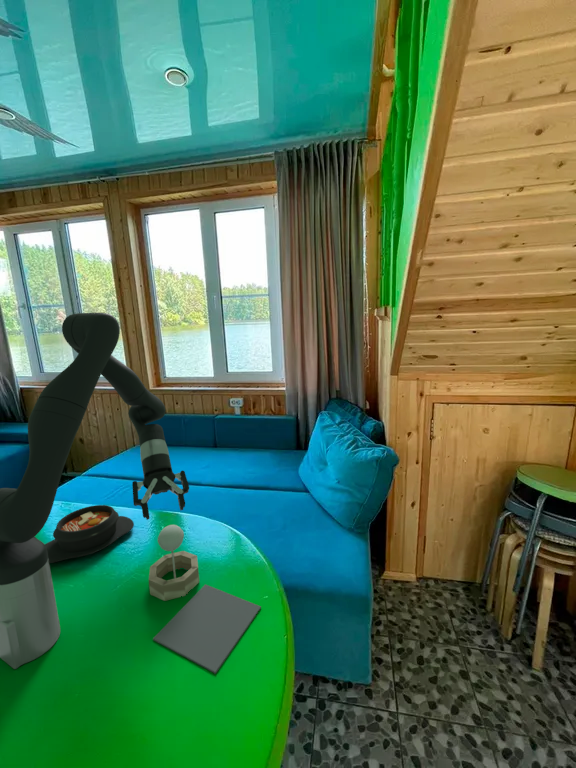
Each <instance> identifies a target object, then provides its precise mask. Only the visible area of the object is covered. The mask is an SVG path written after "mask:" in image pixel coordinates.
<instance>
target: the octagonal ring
mask: <svg viewBox="0 0 576 768" xmlns="http://www.w3.org/2000/svg"><path fill="white" fill-rule="evenodd" d="M198 561H199V560H198V555H196V554H194V553H192V552H191V553H190V552H188V551H185V550H181V551H177V552H174V562H175V571H177V570H176V569H178V570H181V569H180V568H184V569H183V570H185V569H186V570H185V571H186V572H185V573H184V574H183V575H182V576H179V577H176V578H175V579H174V578H171V579H168V580H166V579H163V577H164V576H166V575H167V574H168V573H169V572H173V562H172V553H167V554H164V555H163V556H162V557H160V558H159V559H158V560H156V561H155V562H154V563H153V564H152V565H150V566H149V574H148V587H149V594H150V596H153V597H155V598H157V599H159V600H160V601H161V600H162V601H164V602H166V601H169V600H173V599H179V598H181V596H182V597H185V596H187V595H188V594H189V593H190V592H191V591H192V590H193V589H194V587H196V586H197V585H198V584H199V583H200V573H199V562H198ZM187 570H188V571H187ZM191 589H192V590H191ZM190 590H191V591H190ZM189 591H190V592H189ZM188 592H189V593H188ZM186 594H187V595H186Z"/></svg>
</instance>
